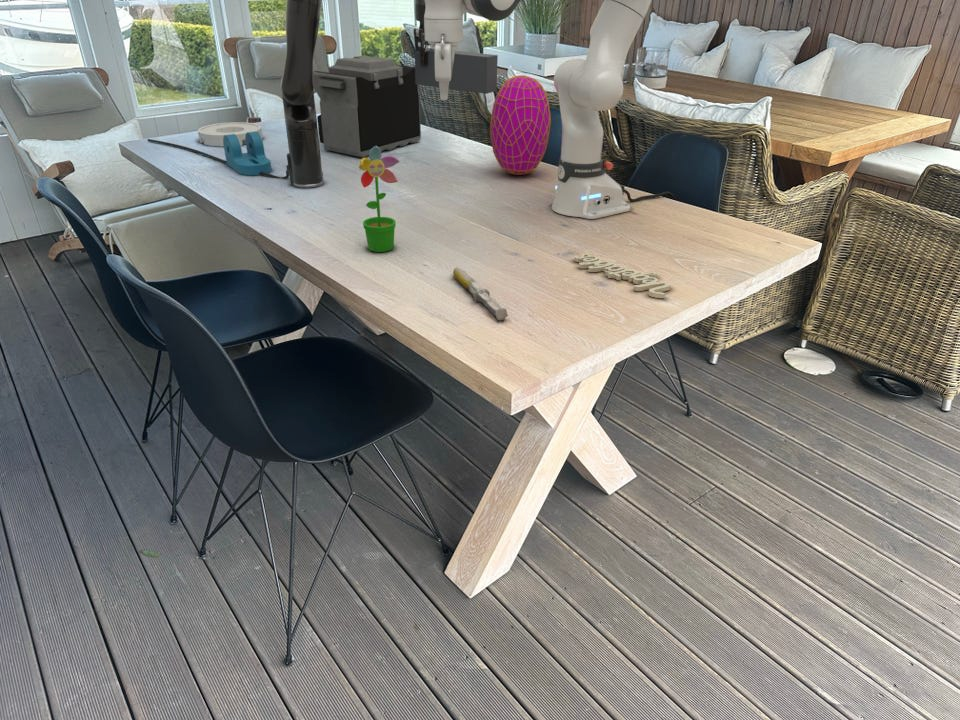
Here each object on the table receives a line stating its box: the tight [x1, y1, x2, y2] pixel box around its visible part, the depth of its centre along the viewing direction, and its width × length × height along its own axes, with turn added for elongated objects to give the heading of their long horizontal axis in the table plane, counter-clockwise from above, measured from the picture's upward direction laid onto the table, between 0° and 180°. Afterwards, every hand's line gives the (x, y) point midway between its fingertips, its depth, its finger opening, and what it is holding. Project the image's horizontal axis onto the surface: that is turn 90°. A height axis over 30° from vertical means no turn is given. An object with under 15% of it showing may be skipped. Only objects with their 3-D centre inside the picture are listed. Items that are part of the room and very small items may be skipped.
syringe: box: [452, 266, 509, 321], centre depth 145 cm, size 25×4×3 cm, turn 21°
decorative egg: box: [489, 75, 552, 176], centre depth 220 cm, size 19×19×30 cm
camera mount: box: [223, 131, 272, 176], centre depth 226 cm, size 18×10×10 cm, turn 35°
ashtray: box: [197, 121, 264, 147], centre depth 263 cm, size 23×23×4 cm
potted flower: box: [358, 146, 400, 253], centre depth 162 cm, size 9×8×25 cm
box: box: [414, 47, 499, 95], centre depth 203 cm, size 25×6×10 cm, turn 58°
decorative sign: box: [574, 252, 671, 299], centre depth 155 cm, size 26×1×10 cm
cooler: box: [313, 55, 422, 159], centre depth 250 cm, size 37×22×30 cm, turn 144°
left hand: (429, 64), depth 207 cm, fingers closed on box, 6 cm apart
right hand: (444, 96), depth 165 cm, fingers open, 8 cm apart
